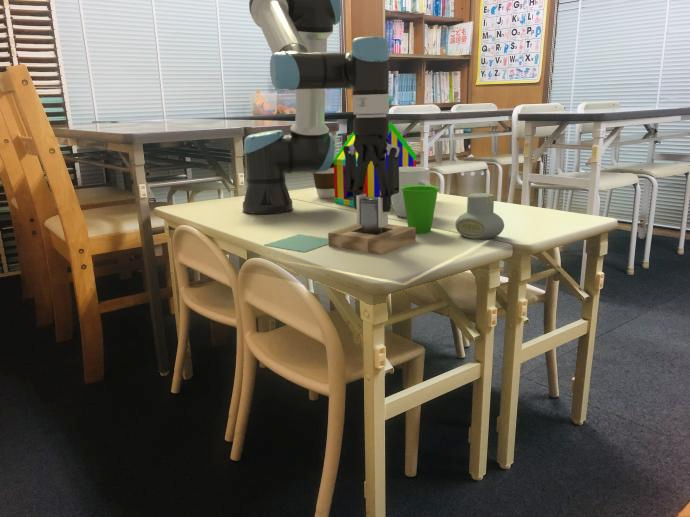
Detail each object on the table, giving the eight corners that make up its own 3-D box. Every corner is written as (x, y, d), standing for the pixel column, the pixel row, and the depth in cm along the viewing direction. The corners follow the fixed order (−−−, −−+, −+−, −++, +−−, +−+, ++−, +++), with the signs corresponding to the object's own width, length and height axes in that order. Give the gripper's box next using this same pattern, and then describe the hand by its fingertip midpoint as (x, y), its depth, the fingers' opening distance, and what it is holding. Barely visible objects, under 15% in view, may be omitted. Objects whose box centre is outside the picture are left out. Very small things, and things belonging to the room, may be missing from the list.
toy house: (365, 208, 167) (363, 123, 160) (335, 203, 176) (332, 123, 170) (415, 197, 183) (416, 120, 176) (385, 193, 192) (385, 120, 185)
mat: (264, 247, 123) (263, 244, 123) (299, 236, 132) (299, 234, 132) (304, 254, 116) (304, 251, 116) (338, 242, 125) (338, 240, 125)
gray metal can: (356, 244, 122) (356, 199, 119) (369, 239, 126) (368, 196, 123) (375, 247, 119) (375, 201, 116) (388, 242, 123) (387, 198, 120)
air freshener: (449, 237, 128) (450, 195, 125) (467, 231, 134) (468, 190, 131) (492, 244, 121) (494, 199, 118) (509, 237, 127) (511, 194, 124)
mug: (446, 218, 149) (448, 169, 146) (416, 223, 143) (416, 173, 140) (411, 210, 161) (411, 165, 158) (381, 215, 155) (381, 168, 152)
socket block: (328, 248, 121) (328, 232, 120) (364, 235, 132) (364, 221, 131) (381, 257, 113) (381, 240, 112) (415, 242, 124) (415, 227, 123)
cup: (397, 229, 137) (397, 185, 134) (433, 228, 138) (434, 184, 135) (404, 238, 128) (404, 191, 125) (442, 236, 129) (443, 189, 126)
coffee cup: (305, 197, 189) (303, 162, 186) (328, 193, 196) (327, 159, 193) (325, 200, 181) (324, 164, 178) (349, 196, 188) (348, 161, 185)
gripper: (326, 117, 117) (329, 223, 123) (398, 116, 107) (398, 232, 113) (347, 116, 123) (349, 217, 129) (417, 115, 112) (416, 226, 119)
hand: (372, 224), depth 121 cm, fingers closed on gray metal can, 5 cm apart
